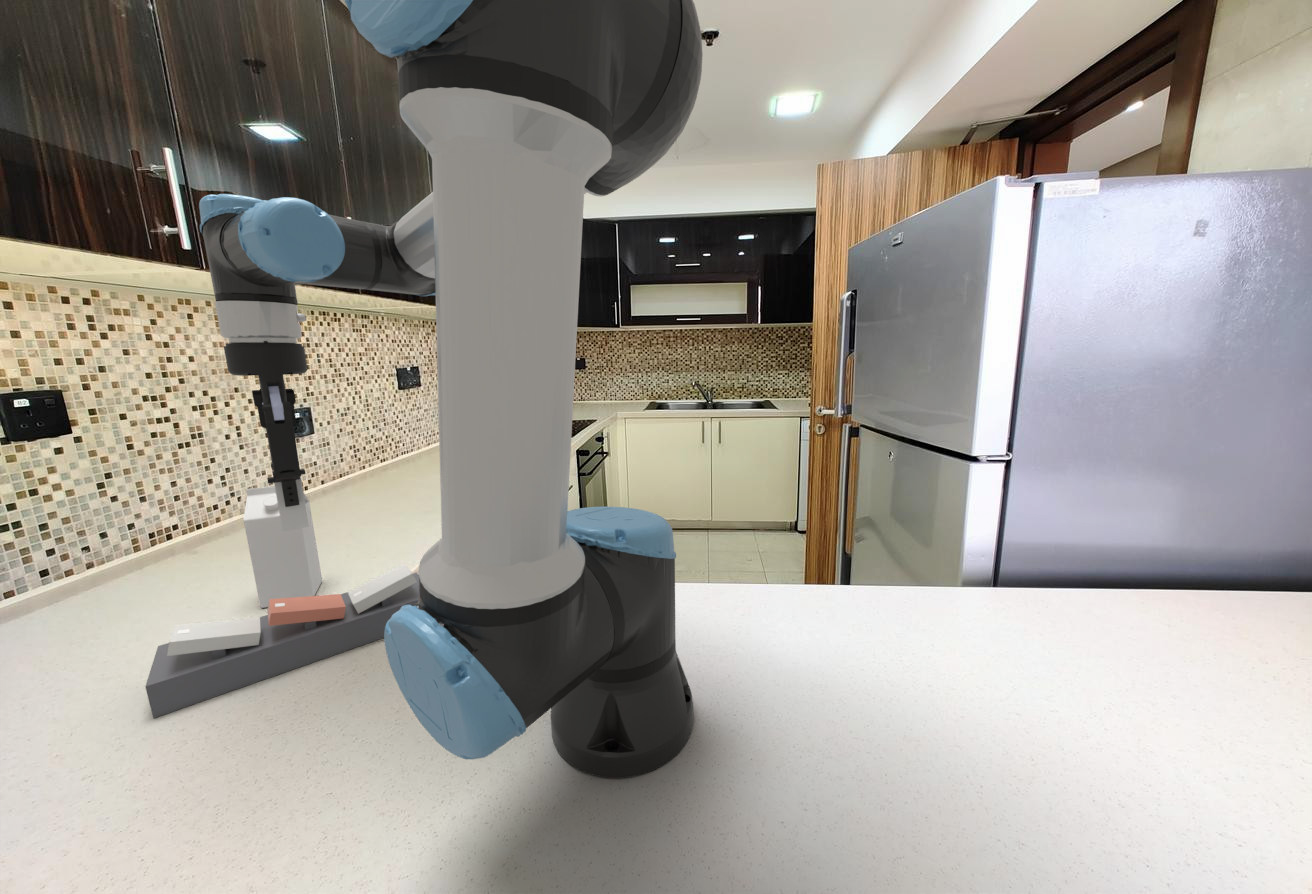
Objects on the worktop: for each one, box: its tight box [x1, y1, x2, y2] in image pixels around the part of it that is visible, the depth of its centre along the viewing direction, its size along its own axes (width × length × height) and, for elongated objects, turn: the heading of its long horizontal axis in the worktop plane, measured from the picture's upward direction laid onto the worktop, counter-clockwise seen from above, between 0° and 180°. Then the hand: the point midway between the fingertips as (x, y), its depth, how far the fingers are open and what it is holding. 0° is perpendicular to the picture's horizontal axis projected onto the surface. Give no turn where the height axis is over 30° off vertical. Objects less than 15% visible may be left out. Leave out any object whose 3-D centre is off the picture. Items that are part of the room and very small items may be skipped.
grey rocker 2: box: [347, 562, 416, 614], centre depth 69 cm, size 5×8×2 cm, turn 130°
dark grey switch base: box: [144, 572, 420, 719], centre depth 67 cm, size 10×36×5 cm, turn 130°
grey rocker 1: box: [167, 616, 261, 656], centre depth 58 cm, size 5×8×2 cm, turn 130°
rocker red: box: [267, 593, 346, 626], centre depth 64 cm, size 5×8×2 cm, turn 130°
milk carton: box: [242, 485, 323, 609], centre depth 79 cm, size 7×7×19 cm
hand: (295, 527), depth 61 cm, fingers closed
